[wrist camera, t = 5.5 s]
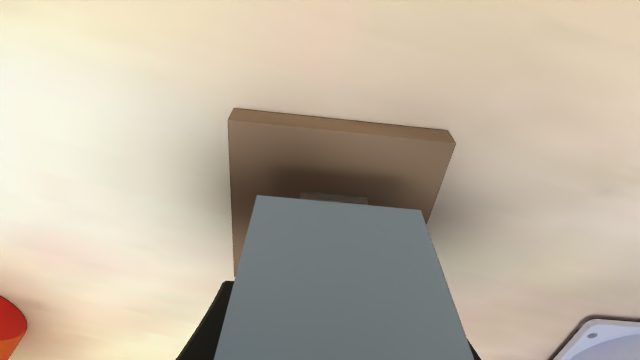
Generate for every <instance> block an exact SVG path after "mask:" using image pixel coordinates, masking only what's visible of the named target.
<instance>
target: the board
mask: <svg viewBox="0 0 640 360" xmlns="http://www.w3.org/2000/svg"><path fill="white" fill-rule="evenodd" d="M228 140H229V163H230V186H231V210H232V233H233V257H234V277H236V273H237V269H238V266H239V262H240V258H241V254H242V250H243V246H244V243H245V239H246V235H247V231H248V227H249V224H250V220H251V216H252V212H253V208H254V204H255V201H256V197H257V195H261V196H272V197H283V198H294V199H300V191H306V192H317V193H328V194H339V195H349V196H360V197H367V202H368V205H371V206H382V207H393V208H404V209H415V210H421V212H422V215H423V218H424V220H425V223H426V224H427V222H428V219H429V216H430V213H431V211H432V208H433V205H434V202H435V200H436V197H437V194H438V192H439V189H440V186H441V183H442V181H443V178H444V175H445V172H446V170H447V167H448V164H449V161H450V159H451V156H452V153H453V151H454V148H455V145H456V142H455V141H454V139H453V138H452V136H451V135H450V133H449V131H446V130H437V129H427V128H417V127H408V126H398V125H389V124H379V123H369V122H360V121H350V120H341V119H331V118H321V117H312V116H302V115H293V114H283V113H273V112H264V111H254V110H245V109H235V108H234V109H233V111H232V113H231V115H230V117H229V118H228Z"/></svg>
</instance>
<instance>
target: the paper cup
mask: <svg viewBox="0 0 640 360" xmlns="http://www.w3.org/2000/svg"><path fill="white" fill-rule="evenodd" d="M26 329H27V322H26V319H25V317H24V316H23V314H22V313H21V312H20V311H19V309H18V308H16V307H15V306H14V305H13V304H12V303H10V302H9V301H7V300H6V299H4V298H3V297H1V296H0V360H8V359H9V357H10V356H11V354H12V353H13V351H14V350H15V348H16V347H17V345H18V343H19V342H20V340H21V339H22V337H23V335H24V333H25V331H26Z"/></svg>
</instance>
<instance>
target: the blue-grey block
mask: <svg viewBox="0 0 640 360" xmlns="http://www.w3.org/2000/svg"><path fill="white" fill-rule="evenodd" d="M214 360H474V358H473V355H472V352H471V349H470V346H469V344H468V341H467V338H466V335H465V332H464V330H463V327H462V324H461V321H460V318H459V316H458V313H457V310H456V307H455V304H454V302H453V299H452V296H451V293H450V290H449V288H448V285H447V282H446V279H445V276H444V274H443V271H442V268H441V265H440V262H439V260H438V257H437V254H436V251H435V248H434V246H433V243H432V240H431V237H430V234H429V232H428V229H427V226H426V223H425V220H424V218H423V215H422V212H421V210H415V209H404V208H393V207H382V206H371V205H360V204H349V203H338V202H327V201H316V200H305V199H294V198H283V197H272V196H261V195H257V197H256V201H255V204H254V208H253V212H252V216H251V220H250V224H249V227H248V231H247V235H246V239H245V243H244V246H243V250H242V254H241V258H240V262H239V266H238V269H237V273H236V277H235V281H234V285H233V288H232V292H231V296H230V300H229V304H228V308H227V311H226V315H225V319H224V323H223V327H222V330H221V334H220V338H219V342H218V346H217V350H216V353H215V357H214Z"/></svg>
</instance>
